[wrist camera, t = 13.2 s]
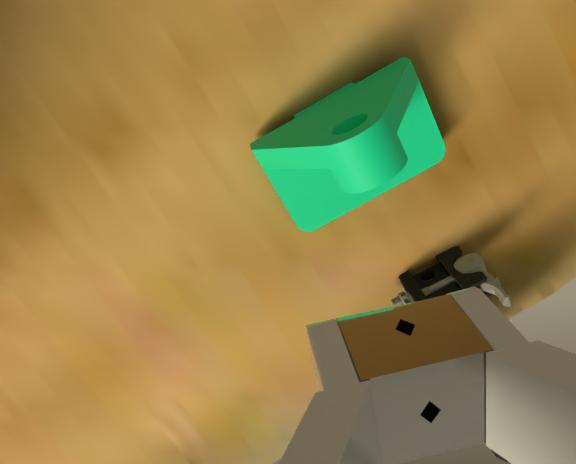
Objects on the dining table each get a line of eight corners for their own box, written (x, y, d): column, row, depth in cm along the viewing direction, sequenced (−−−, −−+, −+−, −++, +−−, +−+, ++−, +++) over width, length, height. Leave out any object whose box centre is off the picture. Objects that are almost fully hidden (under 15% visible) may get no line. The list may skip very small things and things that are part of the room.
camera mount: (297, 222, 40) (323, 290, 31) (249, 139, 37) (261, 188, 28) (435, 146, 39) (504, 194, 30) (397, 54, 36) (462, 76, 27)
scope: (570, 341, 30) (602, 442, 35) (466, 239, 43) (499, 323, 47) (444, 401, 31) (492, 494, 35) (378, 284, 43) (419, 363, 48)
